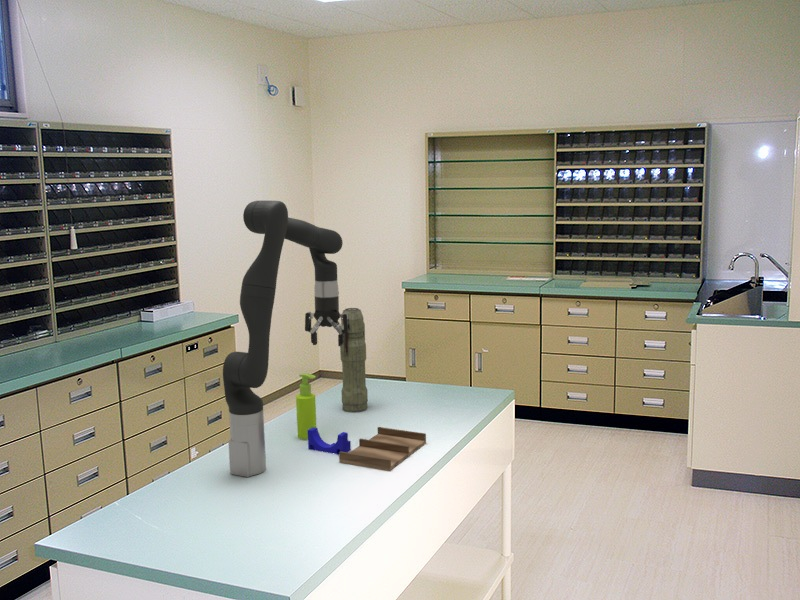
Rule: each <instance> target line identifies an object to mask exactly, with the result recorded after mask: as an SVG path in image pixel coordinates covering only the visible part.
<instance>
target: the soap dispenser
mask: <svg viewBox="0 0 800 600" xmlns="http://www.w3.org/2000/svg"><path fill="white" fill-rule="evenodd" d="M299 377H300V378H301V381H302V382H301V383H300V384H299V394H297V395H296V396H295V402H296V403H295V405H296V425H297V426H296V427H297V428H296V429H297V438H298V439H300V440H307V441H308V430H309V429H311V428H313V427H315V428H317V411H316V409H317V405H316V394H314V393H312V387H311V386H312V384H311V383H309V379H310V380H312V379H313V380H314V379H316V378H317V376H316V375H314V374H311V373H307V372H306V373H300V374H299Z"/></svg>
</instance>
